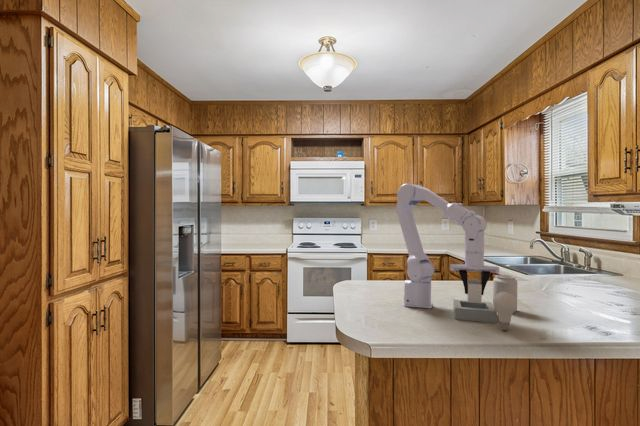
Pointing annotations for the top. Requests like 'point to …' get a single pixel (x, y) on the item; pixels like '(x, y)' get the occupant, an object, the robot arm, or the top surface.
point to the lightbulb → (504, 308)
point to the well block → (474, 311)
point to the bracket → (474, 291)
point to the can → (505, 285)
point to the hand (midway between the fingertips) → (473, 293)
